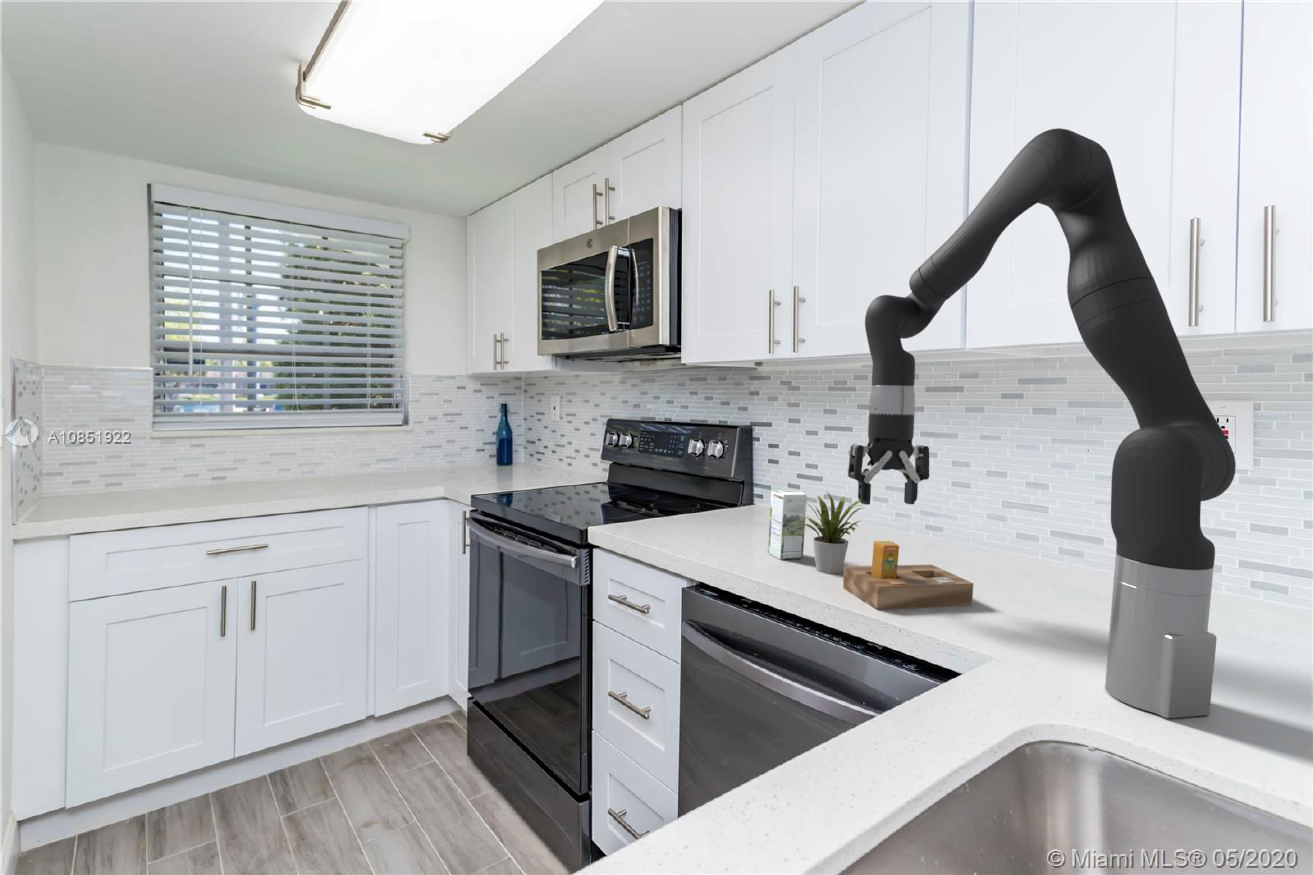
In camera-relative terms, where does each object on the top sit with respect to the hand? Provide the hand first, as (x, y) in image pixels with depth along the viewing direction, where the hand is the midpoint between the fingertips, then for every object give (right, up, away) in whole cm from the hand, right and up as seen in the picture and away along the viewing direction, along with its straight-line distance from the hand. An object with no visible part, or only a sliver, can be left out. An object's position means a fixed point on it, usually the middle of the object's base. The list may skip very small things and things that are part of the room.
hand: (887, 503), depth 114 cm
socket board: (+4, -17, +2) cm, 17 cm away
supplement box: (0, -17, +1) cm, 17 cm away
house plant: (-4, -16, +18) cm, 24 cm away
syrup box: (-12, -15, +28) cm, 34 cm away
